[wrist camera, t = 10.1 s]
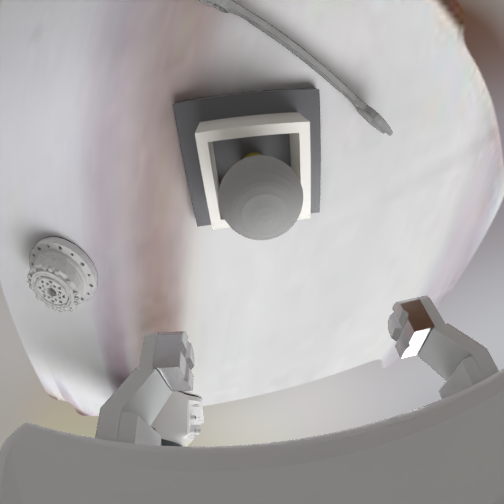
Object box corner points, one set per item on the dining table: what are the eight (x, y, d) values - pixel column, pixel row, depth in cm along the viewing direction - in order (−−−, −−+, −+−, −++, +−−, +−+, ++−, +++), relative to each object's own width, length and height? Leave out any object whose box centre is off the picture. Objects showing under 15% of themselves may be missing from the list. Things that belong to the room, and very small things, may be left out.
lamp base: (316, 207, 29) (331, 235, 25) (198, 221, 29) (193, 251, 25) (315, 88, 22) (335, 95, 18) (175, 102, 22) (162, 112, 18)
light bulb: (208, 168, 25) (199, 228, 17) (246, 119, 22) (257, 154, 14) (257, 200, 27) (271, 270, 19) (295, 156, 25) (331, 209, 17)
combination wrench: (193, -7, 14) (390, 147, 22) (204, -19, 13) (400, 136, 21) (199, 3, 17) (373, 135, 25) (208, -8, 16) (381, 126, 24)
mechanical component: (97, 304, 36) (101, 249, 30) (88, 328, 32) (88, 275, 27) (36, 282, 33) (32, 225, 27) (24, 304, 29) (14, 247, 24)
